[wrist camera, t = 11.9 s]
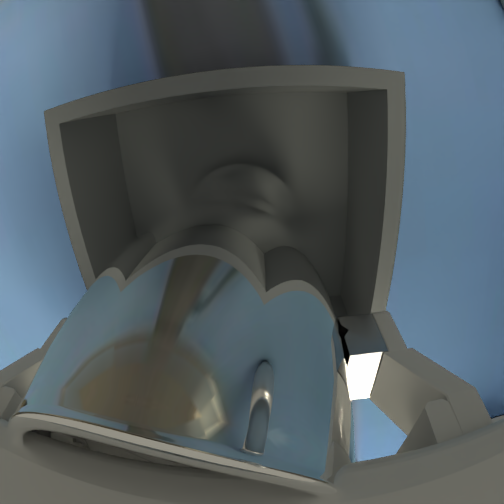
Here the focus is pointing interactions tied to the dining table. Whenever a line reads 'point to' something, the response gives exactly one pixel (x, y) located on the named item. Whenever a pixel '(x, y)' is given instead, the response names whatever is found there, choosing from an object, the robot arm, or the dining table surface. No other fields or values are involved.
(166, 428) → the beer glass
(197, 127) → the bin
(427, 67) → the dining table surface
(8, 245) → the dining table surface
